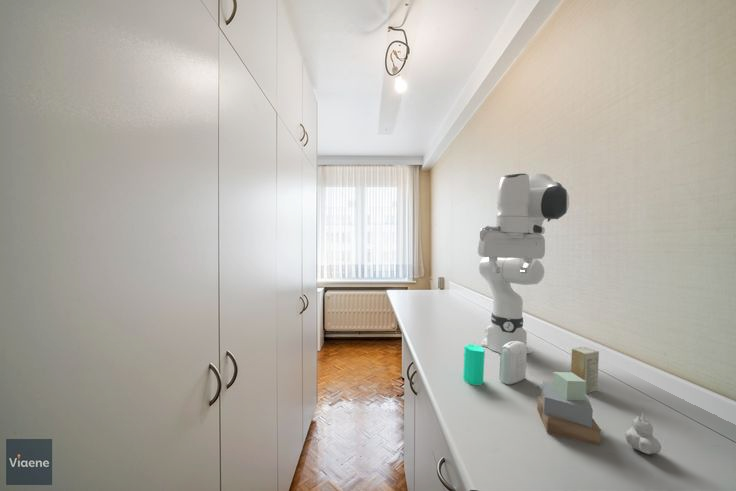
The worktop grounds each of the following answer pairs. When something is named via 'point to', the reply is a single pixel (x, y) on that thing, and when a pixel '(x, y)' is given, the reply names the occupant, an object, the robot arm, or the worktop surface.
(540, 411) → the walnut block
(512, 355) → the photo printer
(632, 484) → the worktop surface
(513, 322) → the robot arm
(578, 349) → the skincare box
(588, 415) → the gray block
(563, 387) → the sage cube
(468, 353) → the candle
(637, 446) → the white figurine
